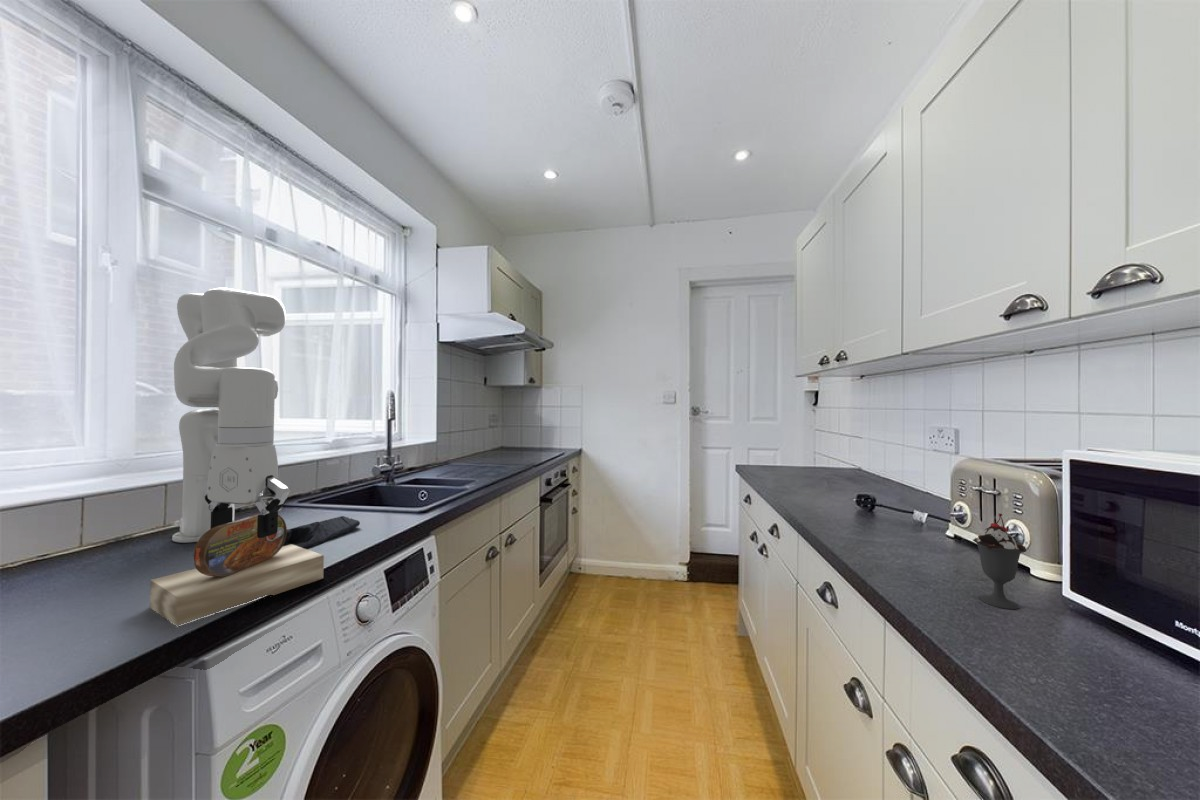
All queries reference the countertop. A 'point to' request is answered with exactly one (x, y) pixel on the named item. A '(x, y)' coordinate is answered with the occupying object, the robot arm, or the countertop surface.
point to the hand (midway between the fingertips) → (244, 533)
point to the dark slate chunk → (319, 531)
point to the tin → (236, 547)
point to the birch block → (233, 585)
